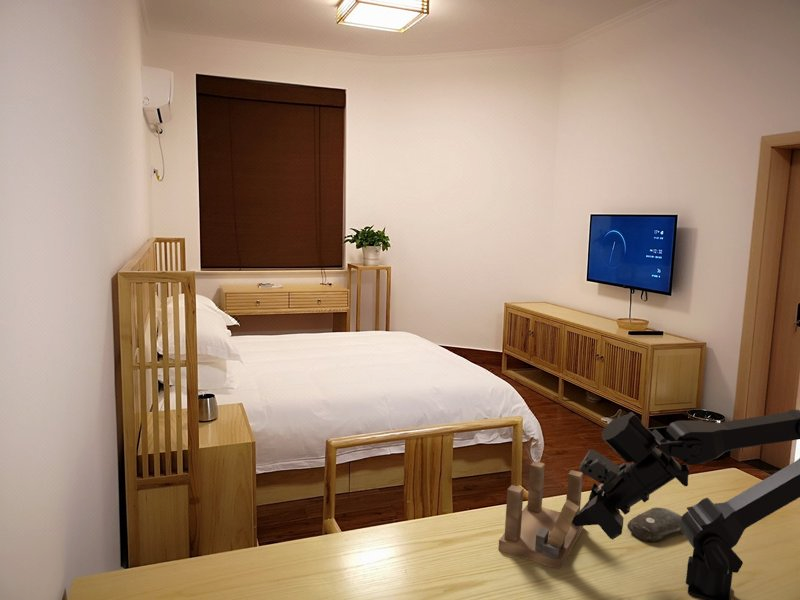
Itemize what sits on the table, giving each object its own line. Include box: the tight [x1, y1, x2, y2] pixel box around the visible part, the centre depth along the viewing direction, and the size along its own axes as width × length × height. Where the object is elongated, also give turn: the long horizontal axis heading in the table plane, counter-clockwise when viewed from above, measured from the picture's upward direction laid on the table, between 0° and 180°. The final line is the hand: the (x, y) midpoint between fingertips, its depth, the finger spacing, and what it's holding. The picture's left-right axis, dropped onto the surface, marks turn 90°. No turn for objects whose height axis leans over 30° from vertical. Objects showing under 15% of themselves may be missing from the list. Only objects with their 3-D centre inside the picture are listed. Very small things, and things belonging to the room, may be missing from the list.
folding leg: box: [547, 500, 579, 549], centre depth 110 cm, size 2×3×10 cm
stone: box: [627, 507, 683, 542], centre depth 125 cm, size 14×4×10 cm
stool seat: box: [497, 460, 584, 570], centre depth 119 cm, size 12×19×12 cm, turn 150°
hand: (573, 523), depth 109 cm, fingers closed, pressing on folding leg
